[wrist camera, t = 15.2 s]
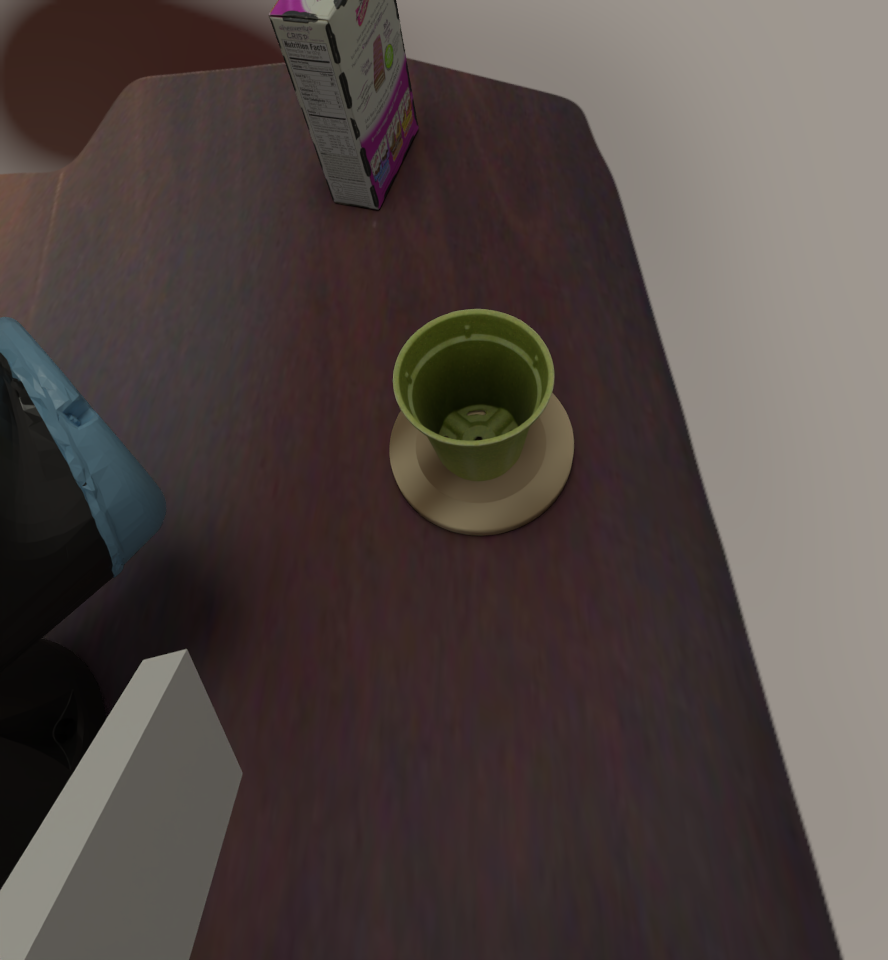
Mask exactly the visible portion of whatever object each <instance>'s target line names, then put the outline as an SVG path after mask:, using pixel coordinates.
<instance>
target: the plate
mask: <svg viewBox="0 0 888 960" xmlns="http://www.w3.org/2000/svg"><path fill="white" fill-rule="evenodd" d="M472 414H473V415H474V414H481V415H483V414H486V412H485V411H483V410H478V411H471V412H468V414H467V415H472ZM509 432H510V431H509ZM445 437H447V438H449V437H448V436H445ZM476 440H482V437H476V438H475V441H476ZM573 453H574V438H573V430H572V427H571V423H570V420H569V418H568V415H567V413H566V411H565V409H564V408H563V406H562V405H561V403H560V401H559V400H558V399H557V398H556V397H555V396H554V394H553V393H552V394H551V397H550V400H549V402H548V404H547V406H546V408H545V410H544V411H543V413H542V414H541V415H540V417H539V418H538V419H537V420H536V421H535V422H534V423H533V424H532V425H531V426H530V428H529V431H528V434H527V437H526V440H525V443H524V446H523V449H522V452H521V455H520V457H519V459H518V460H517V462H516V463H515V464H514V465H513V466H512V467H511V468H510V469H509V470H508V471H507V472H506V473H504V474H503V475H501V476H499V477H497V478H494V479H491V480H486V481H471V480H466V479H463V478H460V477H458V476H457V475H455V474H454V473H452V472H451V471H450V470H448V469H447V468H446V467H445V466H444V465H443V464H442V462H441V461H440V459H439V457H438V455H437V453H436V452H435V450H434V448H433V446H432V444H431V443H430V441H429V439H428V437H427V436H426V435H424V434H423V433H421V432H420V431H419V430H418V429H416V428H415V427H414V426H413V425H412V424H411V423H410V422H409V421H408V419H407V418H406V417H405V415H404V414H403V412H402V411H401V412H400V413H399V415H398V417H397V419H396V421H395V424H394V427H393V430H392V433H391V439H390V462H391V467H392V471H393V474H394V477H395V479H396V482H397V484H398V486H399V488H400V490H401V493H402V494H403V496H404V497H405V499H406V500H407V502H408V503H409V504H410V505H411V506H412V507H413V509H414V510H415V511H416V512H418V513H419V514H420V515H421V516H422V517H423V518H425V519H426V520H428V521H430V522H431V523H433V524H435V525H437V526H439V527H441V528H443V529H446V530H449V531H452V532H455V533H460V534H465V535H477V536H483V535H495V534H500V533H505V532H508V531H511V530H514V529H517V528H519V527H522V526H524V525H526V524H528V523H530V522H531V521H533V520H534V519H536V518H538V517H539V516H540V515H541V514H543V513H544V512H545V511H546V510H547V509H548V508H549V507H550V506H551V505H552V504H553V503H554V502H555V501H556V499H557V498H558V496H559V495H560V493H561V492H562V490H563V488H564V486H565V484H566V482H567V480H568V477H569V474H570V471H571V465H572V459H573Z"/></svg>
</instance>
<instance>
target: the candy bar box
mask: <svg viewBox="0 0 888 960" xmlns="http://www.w3.org/2000/svg"><path fill="white" fill-rule="evenodd" d="M269 18H270V20H271V23H272V26H273V29H274V32H275V34H276V38H277V40H278V43H279V46H280V49H281V52H282V55H283V57H284V60H285V63H286V66H287V69H288V72H289V75H290V78H291V81H292V83H293V87H294V90H295V92H296V95H297V98H298V101H299V104H300V106H301V109H302V111H303V114H304V118H305V120H306V123H307V126H308V130H309V133H310V136H311V138H312V141H313V144H314V146H315V149H316V152H317V155H318V158H319V161H320V164H321V167H322V170H323V173H324V176H325V178H326V181H327V184H328V187H329V190H330V193H331V196H332V199H333V201H334V202H335V203H339V204H343V205H351V206H359V207H364V208H369V209H376V210H379V209H380V207H381V205H382V203H383V201H384V199H385V197H386V195H387V193H388V191H389V188H390V186H391V184H392V182H393V180H394V178H395V176H396V173H397V171H398V169H399V167H400V165H401V163H402V161H403V159H404V157H405V155H406V153H407V151H408V149H409V147H410V145H411V142H412V140H413V138H414V136H415V134H416V132H417V130H418V128H419V127H418V123H417V118H416V112H415V106H414V101H413V94H412V89H411V83H410V78H409V72H408V66H407V61H406V54H405V49H404V44H403V39H402V32H401V25H400V20H399V14H398V8H397V3H396V0H278V1H277V3H276V4H275V5H274V7H273V8H272V10H271V12H270V13H269Z"/></svg>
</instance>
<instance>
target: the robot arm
mask: <svg viewBox="0 0 888 960" xmlns="http://www.w3.org/2000/svg"><path fill="white" fill-rule="evenodd" d="M165 515H166V501H165V497H164V495H163V493H162V491H161V490H160V488H159V487H158V485H157V484H156V483H155V482H154V480H153V479H152V478H151V477H150V475H149V474H148V473H147V472H146V470H145V469H144V468H143V467H142V466H141V464H140V463H139V462H138V461H137V460H136V458H135V457H134V456H133V455H132V454H131V453H130V451H129V450H128V449H127V448H126V447H125V445H124V444H123V443H122V442H121V441H120V440H119V438H118V437H117V436H116V435H115V434H114V432H113V431H112V430H111V429H110V428H109V427H108V426H107V424H106V423H105V422H104V421H103V420H102V419H101V417H100V416H99V415H98V414H97V413H96V412H95V411H94V410H93V408H92V407H91V406H90V405H89V403H88V402H87V401H86V400H85V398H84V397H83V396H82V395H81V394H80V393H79V392H78V391H77V389H76V388H75V387H74V386H73V384H72V383H71V382H70V381H69V379H68V378H67V377H66V376H65V375H64V373H63V372H62V371H61V370H60V369H59V368H58V366H57V365H56V364H55V363H54V362H53V361H52V359H51V358H50V357H49V356H48V355H47V354H46V352H45V351H44V350H43V349H42V348H41V347H40V346H39V344H38V343H37V342H36V341H35V340H34V339H33V338H32V336H31V335H30V334H29V333H28V332H27V331H26V330H25V329H24V327H23V326H22V325H21V324H20V323H19V322H18V321H16V320H15V319H12V318H9V317H1V318H0V888H2V889H1V890H0V960H189V958H190V955H191V951H192V948H193V944H194V941H195V937H196V934H197V930H198V927H199V923H200V920H201V916H202V913H203V909H204V906H205V902H206V899H207V895H208V892H209V888H210V885H211V882H212V878H213V875H214V871H215V868H216V864H217V861H218V857H219V854H220V850H221V847H222V843H223V840H224V836H225V833H226V829H227V826H228V822H229V819H230V815H231V812H232V809H233V805H234V802H235V798H236V795H237V791H238V788H239V784H240V781H241V777H242V774H243V773H242V771H241V768H240V766H239V764H238V762H237V759H236V757H235V755H234V753H233V751H232V748H231V746H230V744H229V742H228V739H227V737H226V735H225V733H224V730H223V728H222V726H221V724H220V721H219V719H218V717H217V715H216V712H215V710H214V708H213V706H212V704H211V701H210V699H209V697H208V695H207V692H206V690H205V688H204V686H203V683H202V681H201V679H200V677H199V674H198V672H197V670H196V668H195V665H194V663H193V661H192V659H191V657H190V654H189V652H188V650H187V649H185V650H181V651H177V652H173V653H169V654H165V655H161V656H157V657H153V658H149V659H145V660H143V661H142V662H141V664H140V666H139V667H138V669H137V671H136V672H135V674H134V675H133V677H132V679H131V680H130V682H129V683H128V685H127V687H126V688H125V690H124V692H123V693H122V695H121V696H120V698H119V700H118V701H117V703H116V704H115V706H114V708H113V709H112V711H111V713H110V714H109V716H108V717H107V719H106V721H105V711H104V704H103V700H102V696H101V693H100V690H99V687H98V685H97V682H96V680H95V678H94V676H93V675H92V673H91V672H90V670H89V669H88V667H87V666H86V665H85V663H84V662H83V661H82V660H81V659H80V658H79V657H78V656H76V655H75V654H74V653H73V652H71V651H70V650H69V649H67V648H65V647H63V646H61V645H59V644H57V643H54V642H51V641H48V640H45V639H41V638H42V637H44V636H45V635H46V634H47V633H48V632H49V631H51V630H52V629H53V628H54V627H55V626H56V625H58V624H59V623H60V622H61V621H62V620H63V619H65V618H66V617H67V616H68V615H69V614H70V613H72V612H73V611H74V610H75V609H76V608H78V607H79V606H80V605H81V604H82V603H83V602H85V601H86V600H87V599H88V598H89V597H90V596H92V595H93V594H94V593H95V592H96V591H97V590H99V589H100V588H101V587H102V586H103V585H105V584H106V583H107V582H108V581H109V580H110V579H112V578H114V577H116V576H117V575H118V574H119V573H120V572H122V570H123V566H124V564H125V563H126V562H127V561H128V560H129V559H130V558H131V557H132V556H133V555H134V554H135V553H136V552H137V551H138V550H139V549H140V548H141V547H142V546H143V545H144V544H145V543H146V542H147V541H148V540H149V539H150V538H151V537H152V536H153V535H154V534H155V533H156V532H157V531H158V530H159V528H160V527H161V525H162V523H163V520H164V517H165Z"/></svg>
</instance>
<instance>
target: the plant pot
mask: <svg viewBox="0 0 888 960" xmlns="http://www.w3.org/2000/svg"><path fill="white" fill-rule="evenodd" d="M553 385H554V367H553V362H552V358H551V355H550V353H549V350H548V348H547V346H546V345H545V343H544V342H543V340H542V339H541V338H540V336H539V335H538V334H537V333H536V332H535V331H534V330H533V329H532V328H530V327H529V326H528V325H526V324H525V323H524V322H523V321H521V320H519V319H517V318H515V317H513V316H510V315H508V314H505V313H501V312H497V311H492V310H486V309H469V310H460V311H456V312H452V313H448V314H446V315H443V316H441V317H438V318H436V319H434V320H432V321H430V322H429V323H427V324H426V325H424V326H423V327H422V328H420V329H419V330H418V331H417V332H415V333H414V334H413V335H412V336H411V337H410V339H409V340H408V341H407V342H406V344H405V345H404V346H403V348H402V349H401V351H400V353H399V355H398V358H397V360H396V363H395V368H394V372H393V387H394V393H395V397H396V400H397V402H398V405H399V407H400V409H401V411H402V412H403V414H404V415H405V417H406V418H407V419H408V421H409V422H410V423H411V424H412V425H413V426H414V427H415V428H416V429H418V430H419V431H420V432H421V433H423V434H424V435H426V436H427V437H428V439H429V441H430V443H431V444H432V446H433V448H434V450H435V452H436V453H437V455H438V457H439V459H440V461H441V462H442V464H443V465H444V466H445V467H446V468H447V469H448V470H450V471H451V472H452V473H454V474H455V475H457V476H458V477H460V478H463V479H466V480H471V481H486V480H491V479H494V478H497V477H499V476H501V475H503V474H504V473H506V472H507V471H508V470H509V469H510V468H511V467H512V466H513V465H514V464H515V463H516V462H517V460H518V459H519V457H520V455H521V452H522V449H523V446H524V443H525V440H526V437H527V434H528V431H529V428H530V426H531V425H532V424H533V423H534V422H535V421H536V420H537V419H538V418H539V417H540V415H541V414H542V413H543V411H544V410H545V408H546V406H547V404H548V402H549V400H550V397H551V394H552V390H553ZM478 410H483V411H485V412H486V414H483V415H481V414H474V415H473V414H472V415H467V414H468V412H471V411H478ZM509 431H510V432H509ZM445 436H448V437H449V438H447V437H445ZM476 437H482V440H476V441H475V438H476Z"/></svg>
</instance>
